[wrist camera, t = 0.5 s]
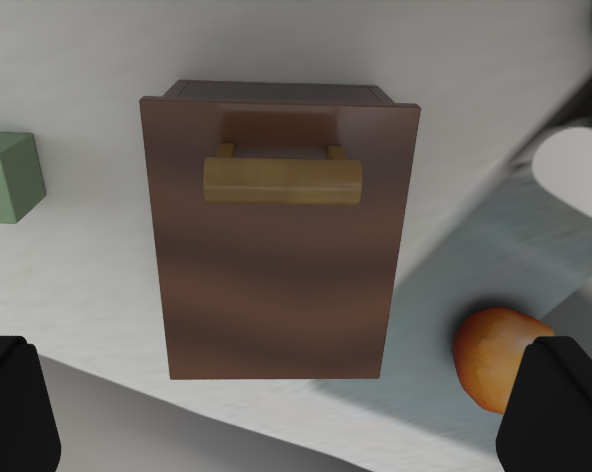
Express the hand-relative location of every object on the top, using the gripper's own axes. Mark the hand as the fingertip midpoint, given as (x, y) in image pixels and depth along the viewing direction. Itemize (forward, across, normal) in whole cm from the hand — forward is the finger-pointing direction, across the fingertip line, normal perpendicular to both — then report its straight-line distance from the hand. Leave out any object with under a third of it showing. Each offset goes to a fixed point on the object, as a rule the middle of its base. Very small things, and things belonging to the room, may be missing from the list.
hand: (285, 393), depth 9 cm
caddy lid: (+16, 0, +6) cm, 17 cm away
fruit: (+25, -18, +18) cm, 36 cm away
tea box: (+25, +18, +4) cm, 31 cm away
